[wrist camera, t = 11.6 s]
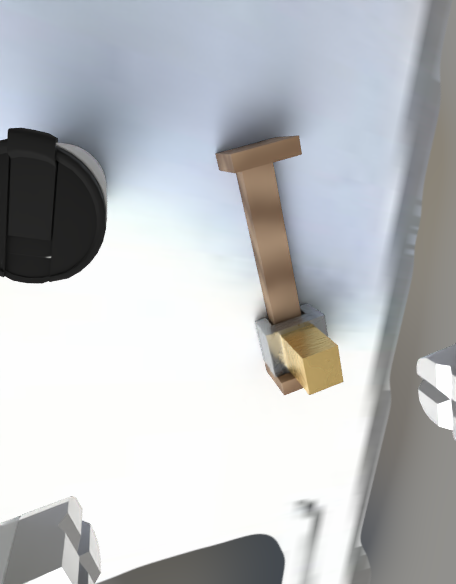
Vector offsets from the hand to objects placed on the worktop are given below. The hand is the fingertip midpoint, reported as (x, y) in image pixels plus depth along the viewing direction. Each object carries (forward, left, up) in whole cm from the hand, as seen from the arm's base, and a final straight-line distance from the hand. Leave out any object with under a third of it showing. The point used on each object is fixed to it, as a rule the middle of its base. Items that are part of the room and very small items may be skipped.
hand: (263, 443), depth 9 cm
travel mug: (-5, -5, -31) cm, 32 cm away
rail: (+8, +11, -31) cm, 34 cm away
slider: (+16, +11, -31) cm, 37 cm away
